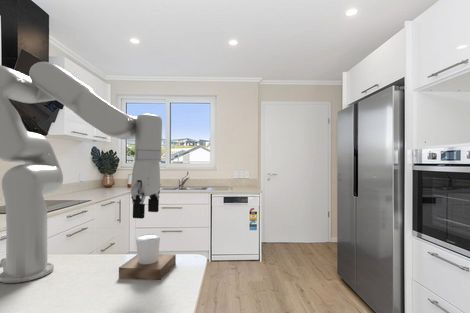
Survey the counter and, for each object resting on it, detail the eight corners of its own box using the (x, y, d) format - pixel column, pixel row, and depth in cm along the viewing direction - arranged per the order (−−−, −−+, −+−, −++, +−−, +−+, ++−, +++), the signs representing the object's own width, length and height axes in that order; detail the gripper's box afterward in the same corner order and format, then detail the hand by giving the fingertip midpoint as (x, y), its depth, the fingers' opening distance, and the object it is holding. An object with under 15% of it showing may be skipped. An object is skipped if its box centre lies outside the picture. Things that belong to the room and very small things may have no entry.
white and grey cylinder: (153, 265, 77) (152, 240, 77) (130, 264, 79) (130, 239, 79) (164, 257, 84) (164, 234, 84) (143, 256, 86) (143, 233, 86)
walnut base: (118, 278, 76) (118, 267, 76) (139, 262, 88) (139, 253, 88) (160, 280, 75) (160, 269, 75) (175, 264, 87) (175, 254, 87)
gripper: (148, 157, 91) (147, 209, 91) (120, 155, 74) (118, 220, 74) (170, 157, 90) (169, 210, 90) (147, 156, 73) (145, 221, 73)
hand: (146, 214), depth 82 cm, fingers open, 9 cm apart
